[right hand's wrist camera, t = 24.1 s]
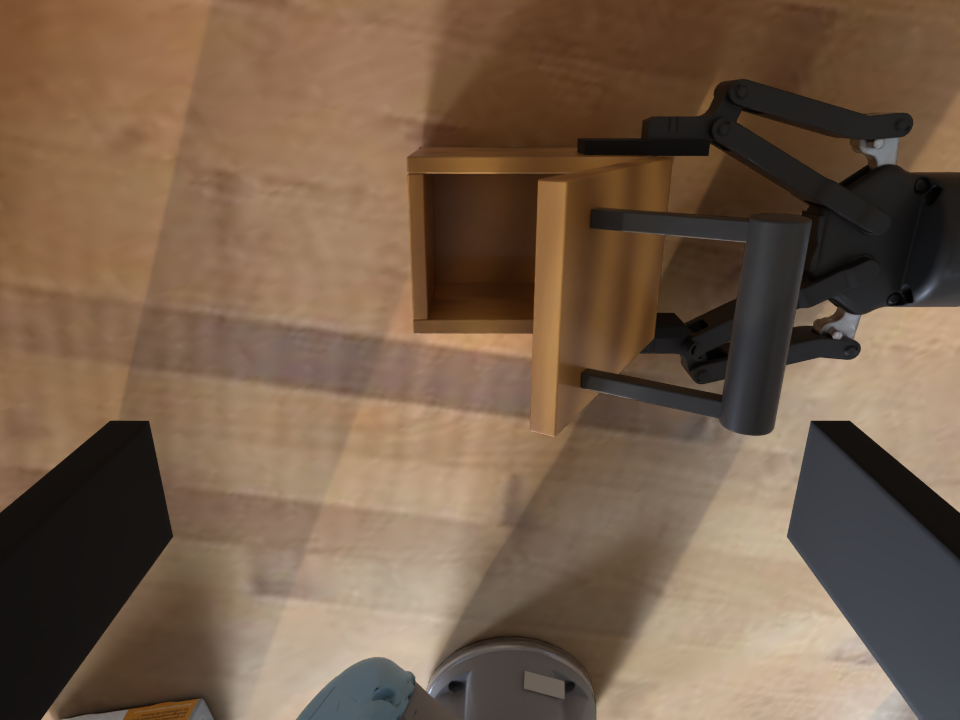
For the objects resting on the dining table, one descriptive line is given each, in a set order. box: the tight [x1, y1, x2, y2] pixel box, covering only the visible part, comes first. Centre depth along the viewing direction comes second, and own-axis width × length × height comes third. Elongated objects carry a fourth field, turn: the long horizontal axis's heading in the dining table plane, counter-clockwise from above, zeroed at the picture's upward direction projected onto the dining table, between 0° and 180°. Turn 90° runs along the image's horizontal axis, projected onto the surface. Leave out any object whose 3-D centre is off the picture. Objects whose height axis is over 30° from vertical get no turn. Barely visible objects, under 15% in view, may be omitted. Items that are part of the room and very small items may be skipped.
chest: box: [407, 147, 657, 334], centre depth 38 cm, size 13×10×9 cm
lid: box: [530, 157, 812, 437], centre depth 27 cm, size 13×10×8 cm
